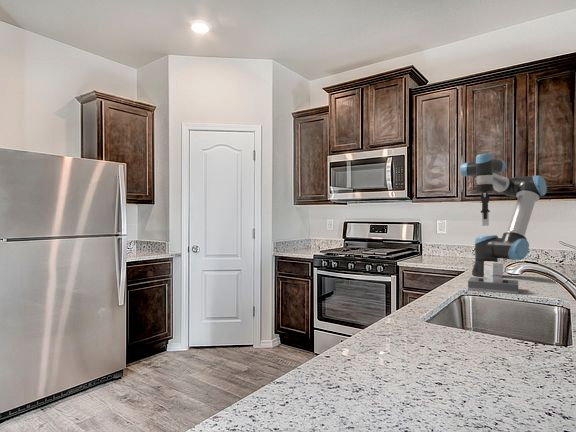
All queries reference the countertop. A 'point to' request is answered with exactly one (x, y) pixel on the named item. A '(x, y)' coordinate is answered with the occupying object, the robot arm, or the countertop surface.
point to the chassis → (493, 285)
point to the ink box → (493, 272)
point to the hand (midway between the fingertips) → (485, 225)
